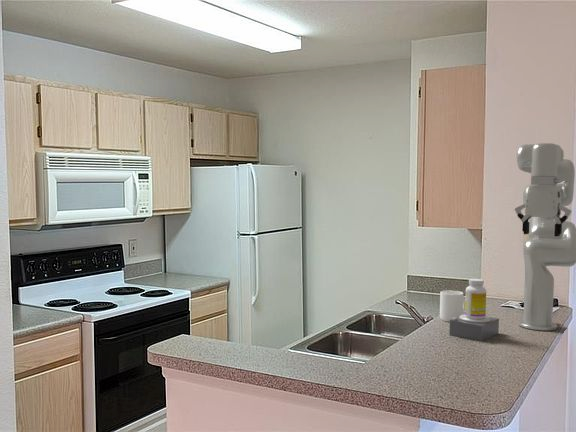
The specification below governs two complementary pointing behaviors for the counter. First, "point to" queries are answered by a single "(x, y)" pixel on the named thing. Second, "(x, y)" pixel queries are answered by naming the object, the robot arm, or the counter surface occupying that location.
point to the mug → (451, 304)
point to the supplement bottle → (475, 300)
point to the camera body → (474, 327)
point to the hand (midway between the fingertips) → (541, 235)
